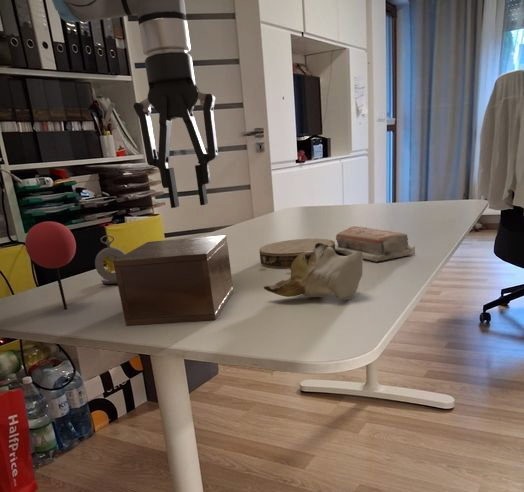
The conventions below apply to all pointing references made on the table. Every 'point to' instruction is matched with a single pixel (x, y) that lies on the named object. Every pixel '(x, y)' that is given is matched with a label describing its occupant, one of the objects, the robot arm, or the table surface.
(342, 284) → the ceramic sculpture
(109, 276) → the pocket watch
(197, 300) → the wooden box
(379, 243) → the old brick
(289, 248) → the tambourine
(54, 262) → the lollipop
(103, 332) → the table surface
